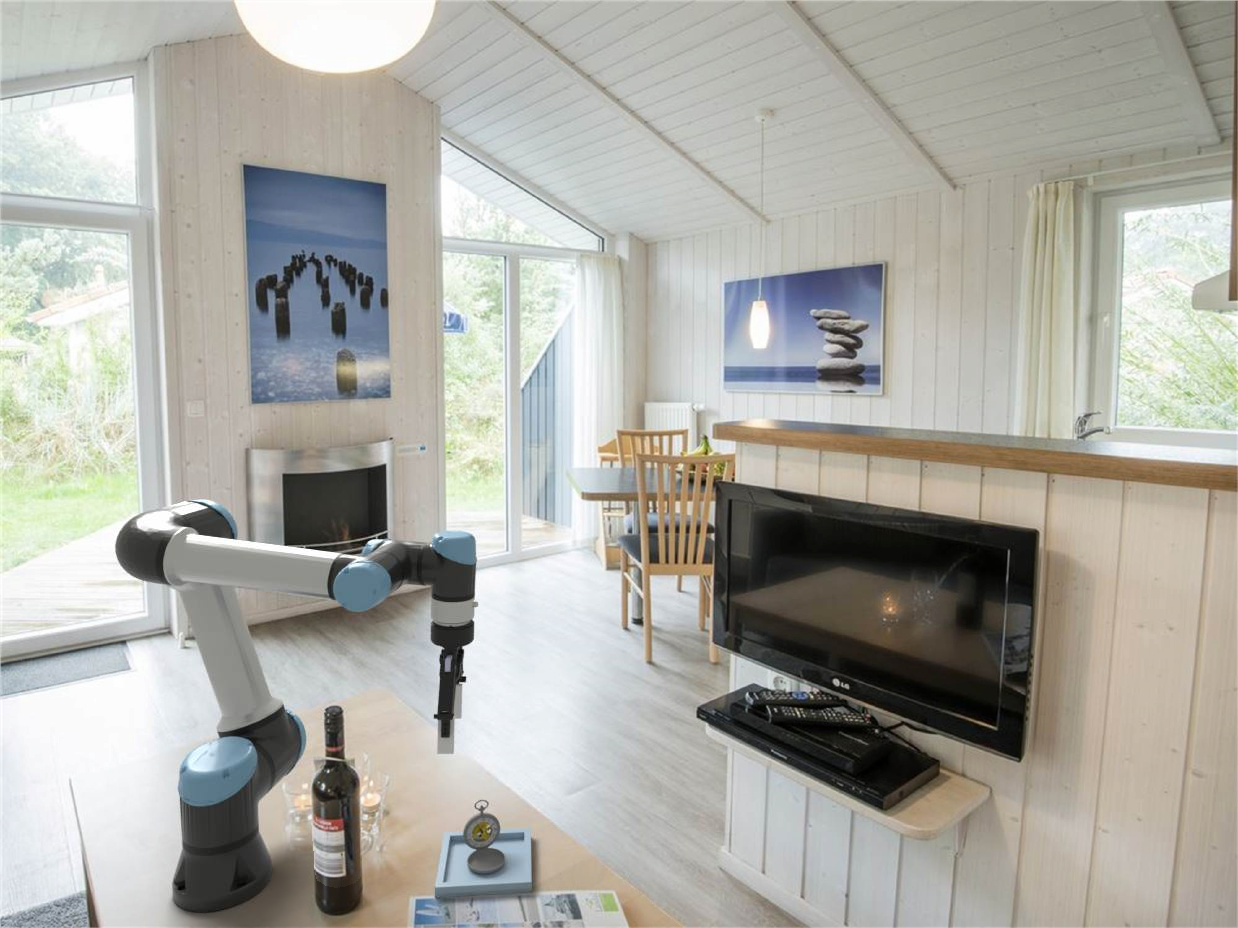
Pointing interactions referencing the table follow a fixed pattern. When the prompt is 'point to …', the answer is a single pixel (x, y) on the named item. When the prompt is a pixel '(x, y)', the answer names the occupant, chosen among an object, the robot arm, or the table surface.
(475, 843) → the pocket watch
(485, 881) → the tray
